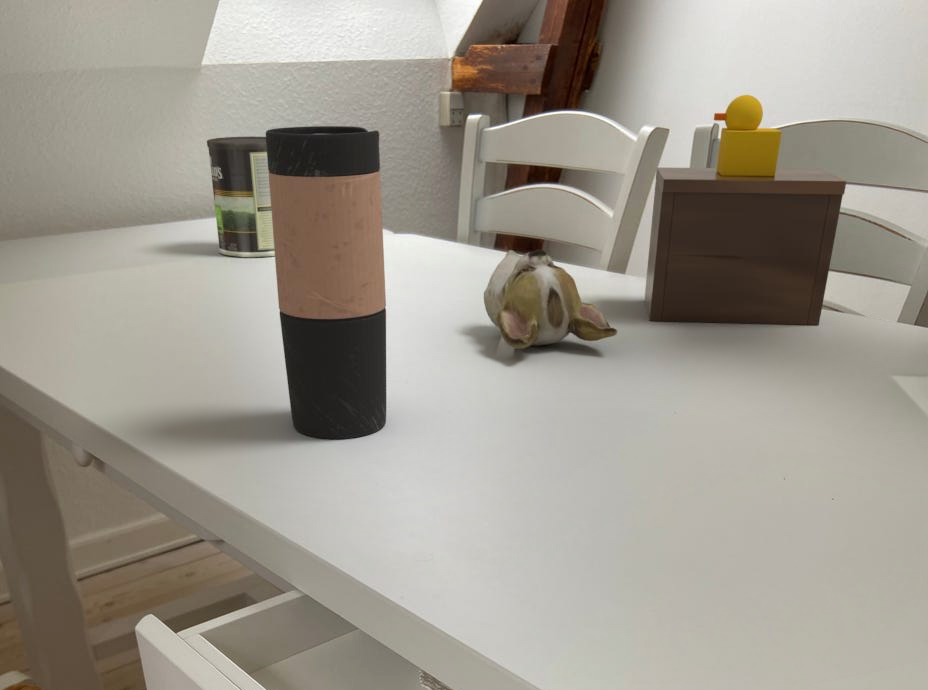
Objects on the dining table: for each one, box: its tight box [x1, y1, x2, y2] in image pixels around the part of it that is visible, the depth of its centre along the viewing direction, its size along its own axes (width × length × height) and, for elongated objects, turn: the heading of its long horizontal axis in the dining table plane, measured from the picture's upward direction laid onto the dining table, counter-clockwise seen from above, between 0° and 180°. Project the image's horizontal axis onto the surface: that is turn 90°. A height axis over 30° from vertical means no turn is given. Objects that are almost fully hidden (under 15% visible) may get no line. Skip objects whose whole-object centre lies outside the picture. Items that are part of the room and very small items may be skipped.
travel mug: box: [265, 125, 387, 440], centre depth 71 cm, size 8×8×20 cm
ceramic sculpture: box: [483, 249, 618, 350], centre depth 95 cm, size 11×9×15 cm
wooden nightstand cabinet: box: [644, 167, 847, 326], centre depth 104 cm, size 11×17×14 cm, turn 83°
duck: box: [713, 94, 782, 176], centre depth 99 cm, size 6×4×7 cm
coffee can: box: [206, 136, 275, 258], centre depth 137 cm, size 10×10×14 cm
